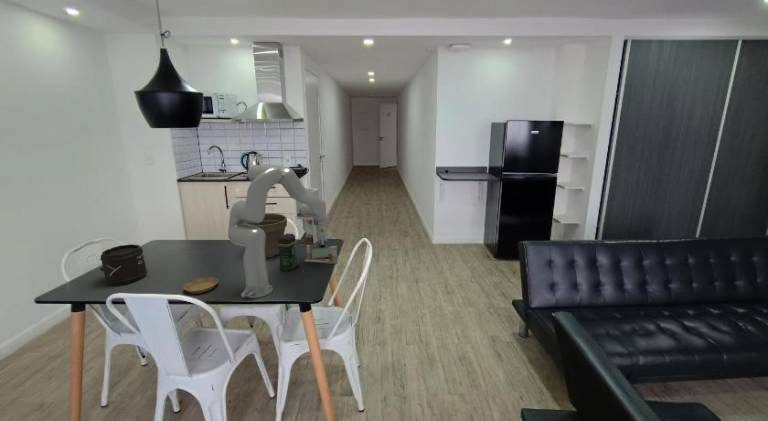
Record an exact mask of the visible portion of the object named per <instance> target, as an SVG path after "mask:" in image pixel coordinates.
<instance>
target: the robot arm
mask: <svg viewBox="0 0 768 421" xmlns="http://www.w3.org/2000/svg"><path fill="white" fill-rule="evenodd" d="M247 178H248V179H249V181H250V184H249V186H248V188H247V190H246V191H247V192H246V198H245V200H242V199H241V200H238V201H237V200H236V202H235V203H233V205H232V206H231V209H230V212H229V219H228V230H227V232H228V233H227V237H228V240H229V241H230V243H232V244H234V245H237V246H241V247H244V248H245V250H244V251H243V254H242V255H243V257H242V259H243V260H242V261H243V267H244V277H245V285H246V286H245V289H244V290H243V291H242V293H241V294H240V296H241V297H242V298H245V297H246V298H250V299H257V298H262V297H266V296H268V295H269V294H271V293H272V292H273V290H274V289H273V286H272V284H269V277H268V267H267V257H266V255H265V243H266V234H265V232H264V231H263V230H262V229H261V228H259V227H255V226H250V225H247V224H248V222H249V223H260V222H262V221H263V219H264V216H265V214H266V208H267V199H268V198H267V197H268V193H269V192H270V190H271V189H272V187H273V186H275V185H276V184H277V185H279V184H280V185H282V187H283V189H284V190H285V191H286V193H287V194H288V195H289V197H290V198H291V199H293V200H295V201H296V200H297V201H299V202H302V203H303V204H301V205H300V207H299V212H300V214H301V215H303V216H308V217H313V223H314V225H315V226H316V233H317V238H318V241H319V244H318V248H323V247H326V244H325V242H328V236H327V226H326V225H327V224H328V219H327V204H326V201H325V200H324V199H321V198H320V197H319V198H318V197H317V196H316V195H315V194H313V193H312V192H311V191H309V190H308V189H306V187H305V186H304V185H303V183H302V181H301V180H300V178H299V177H298V176H297V174H296V172H295V171H294V170H293V168H291V167H288V166H274V165H261V164H253V165H252V166H250V167H249V169H247Z"/></svg>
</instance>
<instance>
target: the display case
mask: <svg viewBox="0 0 768 421" xmlns="http://www.w3.org/2000/svg"><path fill="white" fill-rule="evenodd" d="M305 188H306V187H305ZM306 189H308V190H309V191H311V192H312V193H313V194H315V195H316V196H317V197H318V198H319V199H320V191H319V190H320V189H319V188H309V187H308V188H306ZM295 204H296V205H295V208H296V218H297V219H296V220H302V221H301V222H302V229H303V231H304V232H305V233H307V234H306V235H307V236H306V237H304V238H303V239H302V240H301V241H299V244H298V246H300V247H306V245H308V244H309V245H311V248H312V247H313V248H315V247H317V246H319V241H318V238H317V233H316V226H315V225H314V223H313V217H308V216H303V215H301V214H300V212H299V207H300V205H301V204H303V203H302V202H299V201H297V200H295Z"/></svg>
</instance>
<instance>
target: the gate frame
mask: <svg viewBox="0 0 768 421" xmlns="http://www.w3.org/2000/svg"><path fill="white" fill-rule="evenodd" d="M330 247H331V253H329V254H328V257H327V258H328V259H327V258H312V247H311V245H309V244H308V245H306V246H305V249H306V259H304V262H311V263H320V264H329V265H330V264H331V265H337V264H338V263H339V262H340V260H338V245H331V246H330Z"/></svg>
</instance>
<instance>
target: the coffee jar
mask: <svg viewBox="0 0 768 421" xmlns="http://www.w3.org/2000/svg"><path fill="white" fill-rule="evenodd" d="M296 240H297V239H296V235H295V234H294V233H284V235H283V236H281V237H280V238H278V245H279V269H280V270H281V271H284V272H285V271H286V272H287V271H292V270H294V269H295V268H296V267H298V259H297V251H296V250H297V247H296Z"/></svg>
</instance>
